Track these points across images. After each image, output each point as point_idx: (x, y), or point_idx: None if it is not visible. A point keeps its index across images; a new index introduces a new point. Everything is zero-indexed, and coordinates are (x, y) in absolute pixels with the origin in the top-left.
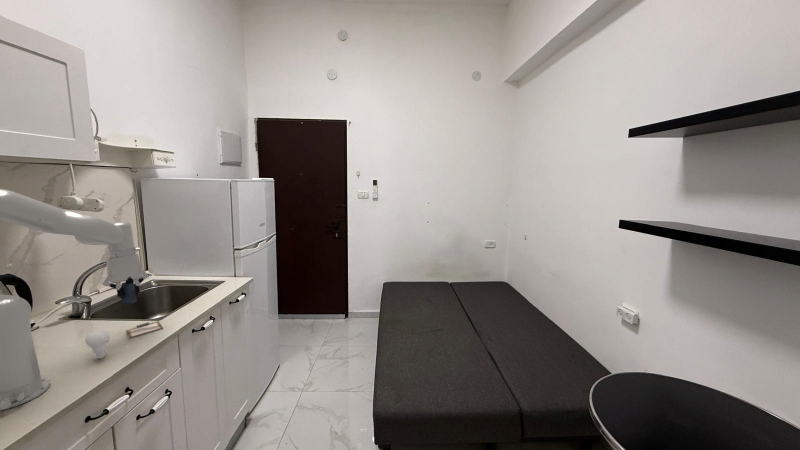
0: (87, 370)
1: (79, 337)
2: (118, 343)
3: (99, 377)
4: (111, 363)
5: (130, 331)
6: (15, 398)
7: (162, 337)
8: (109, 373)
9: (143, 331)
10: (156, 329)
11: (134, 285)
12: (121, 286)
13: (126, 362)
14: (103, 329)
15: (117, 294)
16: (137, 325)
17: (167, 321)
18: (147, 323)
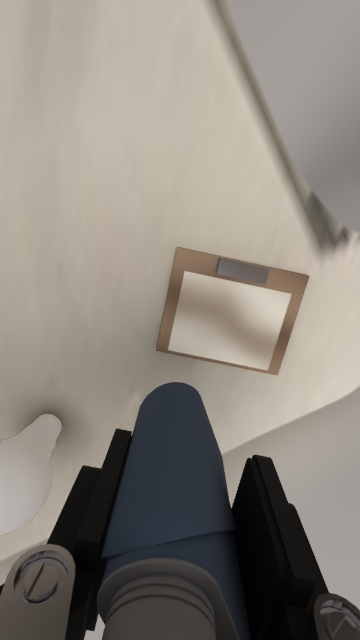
0: None
1: (23, 94)
2: (119, 350)
3: (27, 531)
4: (66, 483)
5: (183, 286)
6: None
7: (233, 446)
8: (49, 533)
9: (214, 341)
10: (253, 369)
11: (278, 616)
12: (99, 613)
13: None
14: (11, 517)
15: (76, 480)
16: (223, 261)
17: (330, 304)
18: (260, 281)
